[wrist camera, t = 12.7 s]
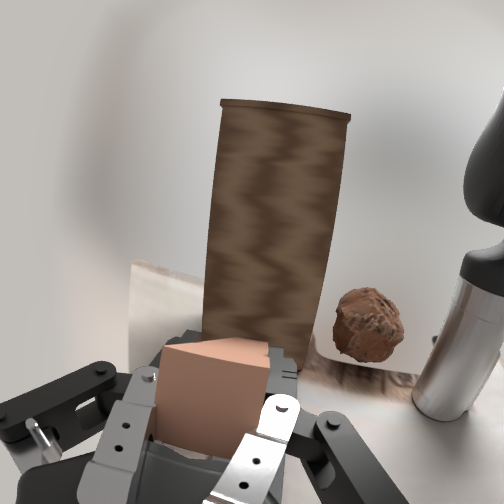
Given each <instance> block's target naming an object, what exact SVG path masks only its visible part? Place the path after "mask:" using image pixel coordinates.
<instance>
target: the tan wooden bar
mask: <svg viewBox="0 0 504 504" xmlns="http://www.w3.org/2000/svg"><path fill="white" fill-rule="evenodd" d="M268 350H269V349H268V342H263V341H257V340H251V339H245V338H239V337H232V338H225V339H218V340H210V341H202V342H197V343H184V344H175V345H164V346H163V348H162V353H161V359H160V366H159V372H158V378H157V385H156V392H155V400H154V402H155V403H157V440H158V441H161V442H164V443H167V444H170V445H173V446H177V447H180V448H184V449H187V450H191V451H195V452H198V453H202V454H206V455H211V456H215V457H220V458H224V459H229V460H232V458H233V456H234V455H235V453H236V451H237V449H238V448H239V446H240V444H241V442H242V441H243V439H244V437H245V435H246V434H247V432H248V431H251V430H252V428H253V427H259V423H260V418H261V413H262V408H263V403H264V398H265V393H266V388H267V383H268V377H269V372H270V360H269V357H268Z"/></svg>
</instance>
